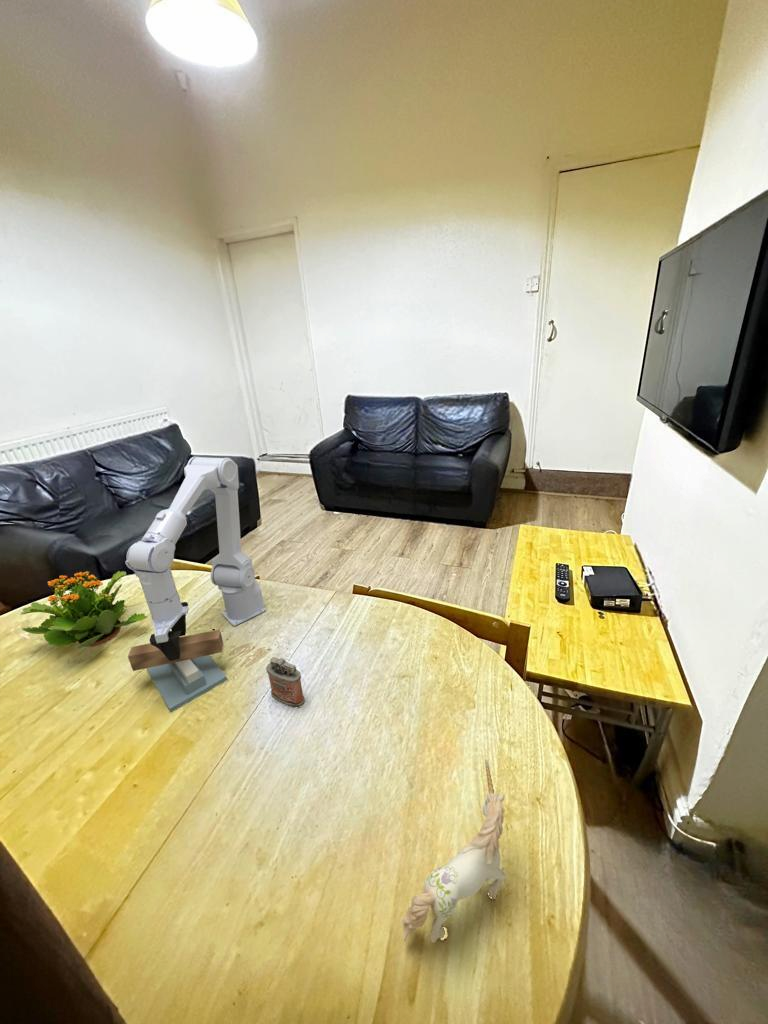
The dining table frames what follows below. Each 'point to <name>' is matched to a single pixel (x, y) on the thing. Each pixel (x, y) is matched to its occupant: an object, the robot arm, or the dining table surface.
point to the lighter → (285, 682)
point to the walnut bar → (189, 649)
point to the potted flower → (81, 612)
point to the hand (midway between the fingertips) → (177, 646)
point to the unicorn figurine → (462, 872)
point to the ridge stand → (186, 680)
